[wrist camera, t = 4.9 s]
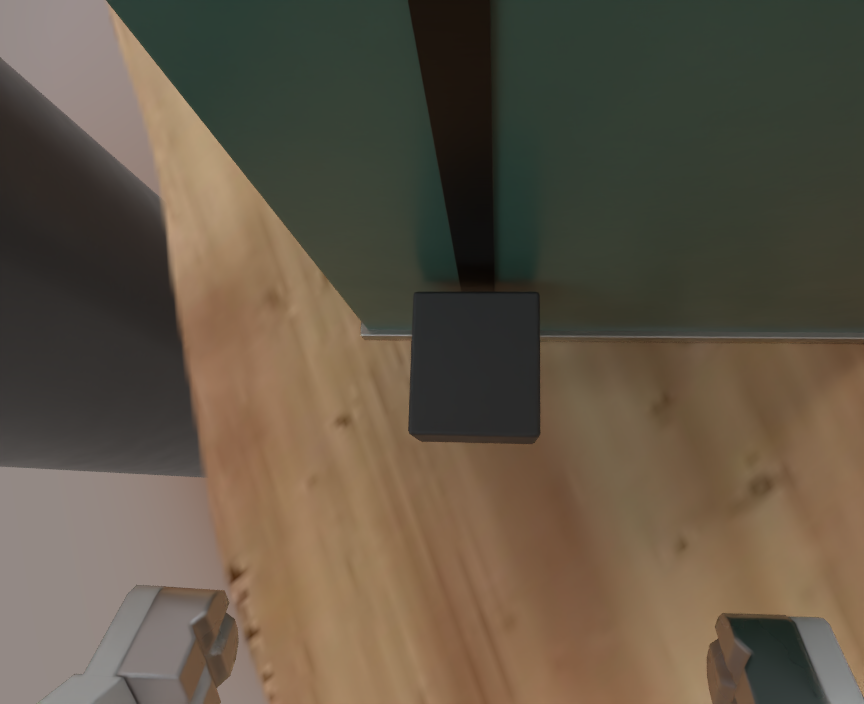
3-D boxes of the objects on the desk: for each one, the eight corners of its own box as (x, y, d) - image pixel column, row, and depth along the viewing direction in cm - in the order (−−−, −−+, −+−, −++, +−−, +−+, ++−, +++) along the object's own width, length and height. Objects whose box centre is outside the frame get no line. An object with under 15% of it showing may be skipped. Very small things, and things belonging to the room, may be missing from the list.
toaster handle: (535, 444, 16) (540, 437, 14) (418, 441, 16) (407, 434, 14) (535, 313, 17) (540, 290, 15) (422, 313, 17) (412, 290, 15)
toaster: (886, 344, 20) (2434, -249, 4) (363, 340, 21) (-21, -99, 5) (858, 83, 21) (1859, -1056, 6) (376, 97, 23) (109, -769, 7)
